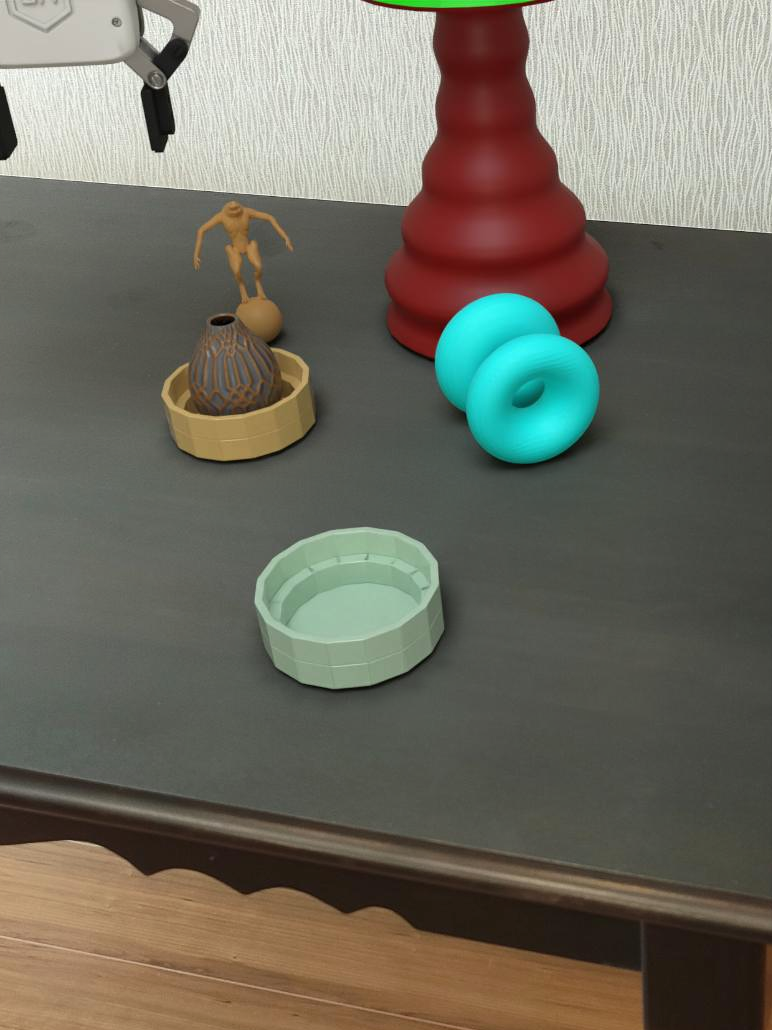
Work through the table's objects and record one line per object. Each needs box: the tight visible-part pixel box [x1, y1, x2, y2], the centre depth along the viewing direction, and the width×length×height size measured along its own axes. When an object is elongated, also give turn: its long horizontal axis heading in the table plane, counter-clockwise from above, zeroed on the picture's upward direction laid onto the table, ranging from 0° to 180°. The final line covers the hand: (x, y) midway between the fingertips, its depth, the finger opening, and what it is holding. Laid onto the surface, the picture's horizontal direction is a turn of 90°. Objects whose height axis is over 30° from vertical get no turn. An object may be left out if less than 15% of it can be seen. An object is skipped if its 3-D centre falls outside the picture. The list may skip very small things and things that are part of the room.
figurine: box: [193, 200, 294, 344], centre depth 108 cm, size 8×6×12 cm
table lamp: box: [360, 0, 613, 361], centre depth 100 cm, size 20×20×45 cm
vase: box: [188, 312, 282, 416], centre depth 97 cm, size 7×7×9 cm
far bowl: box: [160, 347, 317, 462], centre depth 99 cm, size 11×11×4 cm
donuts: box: [434, 293, 600, 465], centre depth 94 cm, size 10×10×10 cm
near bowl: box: [253, 526, 445, 690], centre depth 78 cm, size 11×11×4 cm
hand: (84, 149), depth 83 cm, fingers open, 9 cm apart
